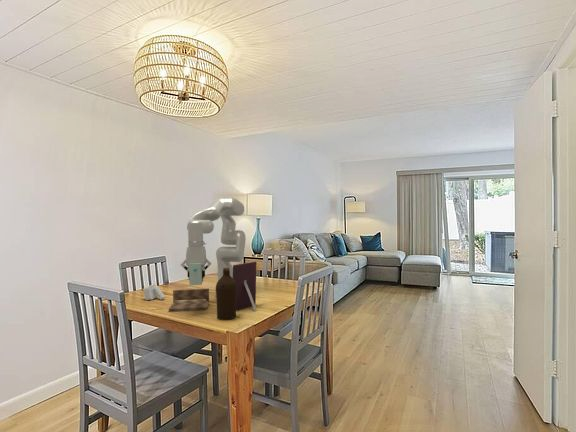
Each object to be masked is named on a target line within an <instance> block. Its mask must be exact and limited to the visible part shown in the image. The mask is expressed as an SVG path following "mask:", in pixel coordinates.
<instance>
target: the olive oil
mask: <svg viewBox="0 0 576 432" xmlns="http://www.w3.org/2000/svg"><path fill="white" fill-rule="evenodd" d="M229 269H230V268H228V267H225V268H223V276H222V277H221V278H220V280H219V281H218V280H217V282H216V285H215V295H216V297H215V298H216V318H217V320H219V321H220V320H222V321H228V320H234V319H235V318H236V317H237V311H236V299H237V284H236V281H235V280H234V279H233V278H232V277H231V276H230V270H229Z"/></svg>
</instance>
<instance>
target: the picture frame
mask: <svg viewBox="0 0 576 432" xmlns="http://www.w3.org/2000/svg"><path fill="white" fill-rule="evenodd" d="M232 267H233V279H234V280H235V281H236V284H237V299H236V312H238V311H241V310H243V309H246V308H250V307H252V309H253V310H254V311H253V312H256V311H258V309H257V307H256V297H257V293H256V292H257V261H249V262H243V263H239V264H238V263H237V264H233V265H232Z"/></svg>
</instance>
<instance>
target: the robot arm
mask: <svg viewBox="0 0 576 432" xmlns="http://www.w3.org/2000/svg"><path fill="white" fill-rule="evenodd" d="M244 213H245V206H244V204H243V203H242V202H241V201H240V200H238V199H237V198H234V197H218V198H216V199H214V201H213V202H212V203H211V204H210V206H208V208H205V209H203V210H201V211H199V212H197V213H195V214H194V215H193V216H191V218H190V219H189V220H188V222H187V224H186V229H187V233H188V234H187V237H188V240H187V241H188V242H187V243H188V246H187V247H186V252H185V260H184V261H183V262H182V263H181V264H180V266H181V267H182V268H183V269H184V270H185V271H186V272H187V278H189V263H202V279H203V280H204V278H205V277H206V270H207V269H208V268H209V267H210V266H211V265H212V262H211V261H210V260H209V259H208V258H207V251H206V246H204V245H207V241H204V234H211V233H212V232H213V231H214V228H215V224H214V221H217V220H219V219H220V218H221V221H222V228H221V233H220V243H221V244H222V245H226V246H219V247H218V248H217V249H216V251H215V256H216V262H217V282H218V281H219V280H220V278H221V277H222V276H223V268H225V267H228V268H230V269H229V270H230V276H231V277H232V278H233V265H232V263H240V262H241V263H242V261H243V260H244V257H245V248H246V239H247V238H246V234H245V232H244V231H243V230H240V229H237V230H236V227H237V226H236V225H237V223H236V221H235V219H234V218H233V217H232V216H234V217H236V216H237V217H239V216H243V214H244ZM215 298H216V294H215Z"/></svg>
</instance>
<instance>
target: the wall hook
mask: <svg viewBox="0 0 576 432" xmlns="http://www.w3.org/2000/svg"><path fill="white" fill-rule="evenodd" d="M143 294H144V298H145V301H152V300H154V299H156V298H159V300H160V301H162V300H163V299H165V298H166V296H165V294H164V293H163V291H162V290H161V288H160V287H159V286H158V285H157V284H150V285H146V286H144V287H143Z"/></svg>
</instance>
